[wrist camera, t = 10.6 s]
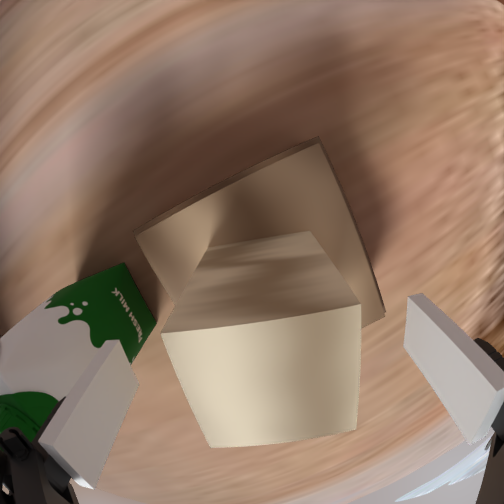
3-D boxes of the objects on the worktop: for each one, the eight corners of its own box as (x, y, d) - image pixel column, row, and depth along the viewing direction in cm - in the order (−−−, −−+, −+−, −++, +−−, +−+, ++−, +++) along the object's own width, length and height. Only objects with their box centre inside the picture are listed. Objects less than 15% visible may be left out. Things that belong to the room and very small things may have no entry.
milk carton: (168, 327, 28) (89, 504, 9) (104, 346, 29) (16, 480, 10) (127, 249, 26) (-30, 385, 7) (65, 279, 27) (-64, 388, 8)
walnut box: (232, 339, 29) (225, 386, 22) (159, 215, 25) (127, 234, 19) (362, 282, 27) (390, 318, 20) (304, 142, 23) (321, 134, 16)
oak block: (228, 334, 21) (210, 447, 11) (207, 247, 19) (160, 333, 9) (319, 320, 20) (356, 429, 11) (309, 230, 18) (361, 304, 9)
